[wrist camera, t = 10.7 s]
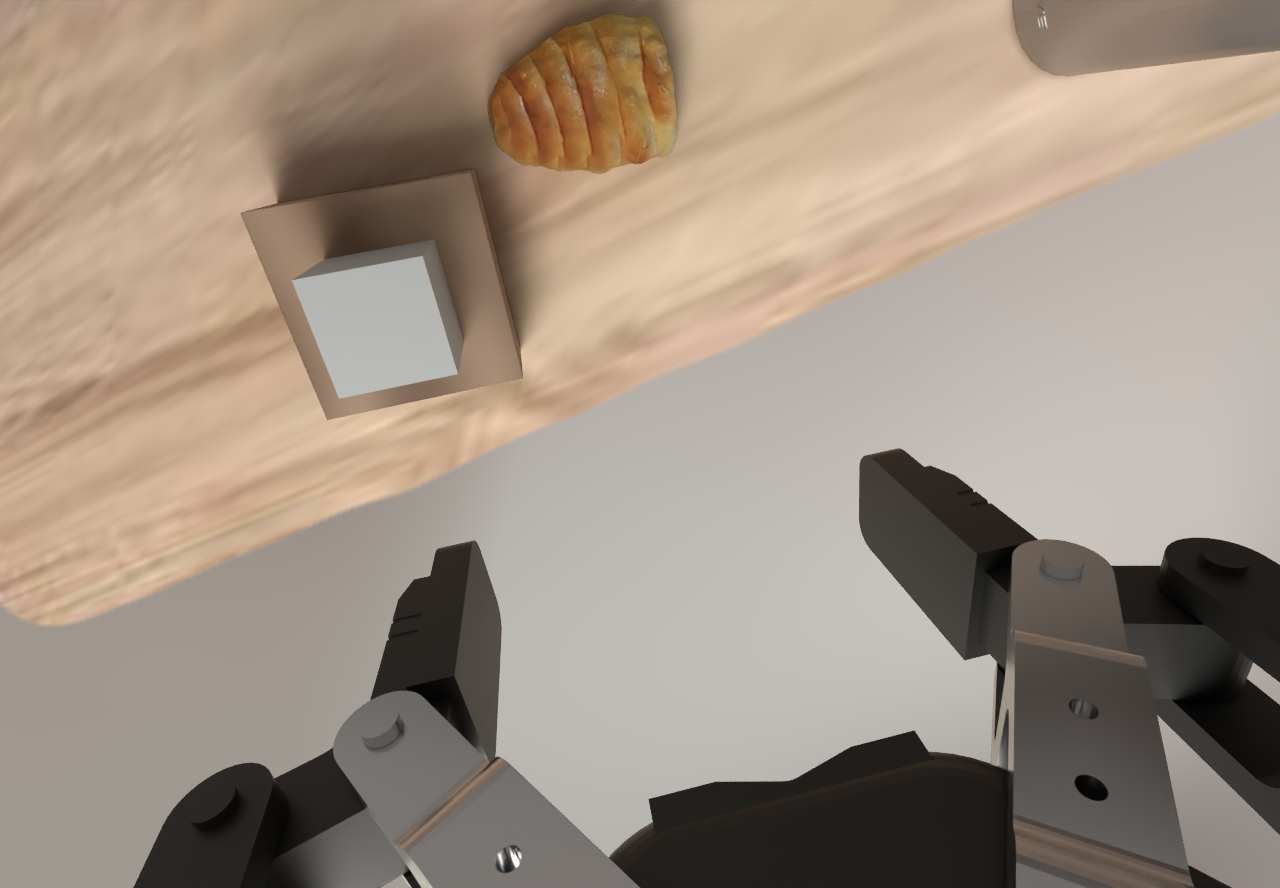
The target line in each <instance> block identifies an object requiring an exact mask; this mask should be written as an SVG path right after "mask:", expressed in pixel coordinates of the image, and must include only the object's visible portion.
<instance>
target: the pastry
mask: <svg viewBox="0 0 1280 888" xmlns="http://www.w3.org/2000/svg"><path fill="white" fill-rule="evenodd" d="M488 114H489V120H490V123H491V126H492V129H493V133H494V138H495V141H496V143H497V145H498V146H499V147H500V149H501V150H502V151H504V152H505V153H507V154H508V155H509V156H511V157H512V158H514V159H515V160H516V161H517V162H518V163H520V164H521V165H525V166H536V167H537V166H542V167H546V168H549V169H554V170H557V171H574V170H587V171H590V172H592V173H596V174H603V173H605V172H607V171H608V170H610V169H612V168H614V167H619V166H624V165H627V164H630V163H633V164H641V163H644V162H646V161H648V160H649V159H651V158H653V157H656V156H657V157H665V156H667V155H669V154H670V153H671V152H672V150H673V148H674V146H675V142H676V136H677V126H676V120H677V109H676V94H675V87H674V75H673V70H672V67H671V64H670V62H669V60H668V57H667V48H666V45H665V42H664V40H663V37H662V35H661V32H660V30H659V29H658V28H657V26H656V24H655V23H654V21H653V20H652V19H651V18H649V17H646V16H641V17H627V16H624V15H621V14H605V15H601V16H599V17H597V18H595V19H593V20H591V21H588V22H583V23H581V24H578V25H573V26H568V27H565V28H563V29H562V30H561V31H560V32H559V33H557V34H556V35H553V36H551V37H550V38H548V39H546V40H545V41H544V42H543V43H542V44H541V45H540V46H539V47H537V48H535V49H533V50H532V51H530V52H529V53H528V54H527V55H526V56H525V57H523V58H521V59H520V60H519V61H518V62H517V63H516V64H514V65H513V66H511V67H510V68H509V69H508V70H506V71H504V72H503V73H501V75H500V77H499V79H498V82H497V84H496V86H495V88H494V91H493V94H492V96H491V97H490V99H489V101H488Z"/></svg>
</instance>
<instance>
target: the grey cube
mask: <svg viewBox="0 0 1280 888" xmlns="http://www.w3.org/2000/svg"><path fill="white" fill-rule="evenodd" d="M292 282H293V285H294V287H295V290H296V292H297V295H298V297H299V300H300V302H301V305H302V307H303V310H304V312H305V315H306V317H307V320H308V322H309V325H310V327H311V330H312V332H313V335H314V337H315V340H316V342H317V345H318V347H319V350H320V352H321V355H322V357H323V360H324V362H325V365H326V367H327V370H328V372H329V375H330V377H331V380H332V382H333V385H334V387H335V390H336V392H337V395H338V397H339V399H340V398H345V397H350V396H355V395H360V394H365V393H369V392H374V391H379V390H384V389H389V388H393V387H398V386H403V385H408V384H413V383H418V382H422V381H427V380H432V379H437V378H442V377H447V376H451V375H456V374H458V372H459V366H460V361H461V356H462V350H463V345H464V340H463V336H462V333H461V329H460V326H459V322H458V319H457V315H456V312H455V309H454V305H453V302H452V298H451V295H450V291H449V288H448V284H447V281H446V277H445V274H444V270H443V267H442V263H441V260H440V257H439V253H438V250H437V246H436V243H435V239H433V240H428V241H422V242H417V243H411V244H406V245H400V246H395V247H389V248H384V249H378V250H373V251H367V252H362V253H356V254H351V255H345V256H340V257H335V258H329V259H324V260H322V261H321V262H319V263H318V264H316V265H315V266H313V267H312V268H310V269H308V270H307V271H305V272H304V273H302V274H301V275H299V276H297V277H296V278H294V279H293V280H292Z"/></svg>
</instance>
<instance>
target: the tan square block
mask: <svg viewBox="0 0 1280 888" xmlns="http://www.w3.org/2000/svg"><path fill="white" fill-rule="evenodd" d="M240 214H241V216H242V218H243V221H244V223H245V226H246V228H247V230H248V233H249V235H250V237H251V240H252V242H253V245H254V247H255V249H256V252H257V254H258V256H259V259H260V261H261V264H262V266H263V268H264V271H265V273H266V275H267V278H268V280H269V283H270V285H271V287H272V290H273V292H274V294H275V297H276V299H277V302H278V304H279V306H280V309H281V311H282V313H283V316H284V318H285V321H286V323H287V325H288V328H289V330H290V332H291V335H292V337H293V340H294V342H295V344H296V347H297V349H298V351H299V354H300V356H301V359H302V361H303V363H304V366H305V368H306V370H307V373H308V375H309V378H310V380H311V382H312V385H313V387H314V389H315V392H316V394H317V397H318V399H319V401H320V404H321V406H322V408H323V411H324V413H325V416H326V418H327V420H330V419H334V418H339V417H344V416H348V415H353V414H358V413H362V412H367V411H372V410H376V409H381V408H386V407H390V406H395V405H400V404H404V403H409V402H414V401H419V400H423V399H428V398H433V397H437V396H442V395H447V394H451V393H456V392H461V391H465V390H470V389H475V388H479V387H484V386H489V385H493V384H498V383H503V382H507V381H512V380H517V379H522V378H523V372H522V362H521V351H520V347H519V343H518V339H517V335H516V331H515V327H514V323H513V319H512V315H511V311H510V307H509V303H508V299H507V295H506V291H505V287H504V283H503V279H502V275H501V271H500V267H499V263H498V259H497V255H496V251H495V247H494V243H493V239H492V235H491V231H490V227H489V223H488V219H487V215H486V211H485V207H484V203H483V199H482V195H481V191H480V187H479V184H478V180H477V176H476V172H475V169H472V170H466V171H460V172H454V173H449V174H443V175H437V176H432V177H426V178H420V179H414V180H409V181H403V182H397V183H392V184H386V185H380V186H374V187H369V188H363V189H357V190H352V191H346V192H340V193H335V194H329V195H323V196H317V197H312V198H306V199H300V200H295V201H289V202H283V203H277V204H273V205H269V206H266V207H262V208H258V209H254V210H250V211H246V212H242V213H240ZM433 239H435V243H436V246H437V250H438V253H439V257H440V260H441V263H442V267H443V270H444V274H445V277H446V281H447V284H448V288H449V291H450V295H451V298H452V302H453V305H454V309H455V312H456V315H457V319H458V322H459V326H460V329H461V333H462V336H463V340H464V345H463V350H462V356H461V361H460V366H459V372H458V374H456V375H451V376H447V377H442V378H437V379H432V380H427V381H422V382H418V383H413V384H408V385H403V386H398V387H393V388H389V389H384V390H379V391H374V392H369V393H365V394H360V395H355V396H350V397H345V398H340V399H339V397H338V395H337V392H336V390H335V387H334V385H333V382H332V380H331V377H330V375H329V372H328V370H327V367H326V365H325V362H324V360H323V357H322V355H321V352H320V350H319V347H318V345H317V342H316V340H315V337H314V335H313V332H312V330H311V327H310V325H309V322H308V320H307V317H306V315H305V312H304V310H303V307H302V305H301V302H300V300H299V297H298V295H297V292H296V290H295V287H294V285H293V282H292V280H293V279H294V278H296V277H297V276H299V275H301V274H302V273H304V272H305V271H307V270H308V269H310V268H312V267H313V266H315V265H316V264H318V263H319V262H321V261H322V260H324V259H329V258H335V257H340V256H345V255H351V254H356V253H362V252H367V251H373V250H378V249H384V248H389V247H395V246H400V245H406V244H411V243H417V242H422V241H428V240H433Z"/></svg>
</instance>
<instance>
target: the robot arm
mask: <svg viewBox="0 0 1280 888" xmlns="http://www.w3.org/2000/svg"><path fill="white" fill-rule="evenodd" d="M1013 14H1014V20H1015V27H1016V32H1017V35H1018V38H1019V40H1020V43H1021V46H1022V48H1023V49H1024V51H1025V52H1026V54H1027V55H1028V57H1029V58H1030V60H1031V61H1032V62H1033V63H1035V64H1036V65H1037V66H1038V67H1039V68H1041V69H1042V70H1044V71H1046V72H1049V73H1051V74H1054V75H1062V76H1074V75H1082V74H1090V73H1098V72H1106V71H1115V70H1123V69H1134V68H1142V67H1150V66H1158V65H1167V64H1175V63H1183V62H1191V61H1199V60H1207V59H1216V58H1224V57H1232V56H1240V55H1248V54H1256V53H1265V52H1273V51H1280V0H1014V1H1013ZM859 478H860V480H859V482H860V483H859V522H860V528H861V531H862V535H863V537H864V540H865V542H866V544H867V545H868V547H869V548H870V549H871V551H872V552H873V553H874V554H875V555H876V556H877V558H878V559H879V560H880V561H881V562H882V563H883V565H884V566H885V567H886V568H887V569H888V571H889V572H890V573H891V574H892V575H893V576H894V578H895V579H896V580H897V581H898V582H899V584H901V586H902V587H903V588H904V589H905V591H906V592H907V593H908V594H909V595H910V596H911V598H912V599H913V600H914V601H915V602H916V604H917V605H918V606H919V607H920V608H921V609H922V611H923V612H924V613H925V614H926V615H927V617H928V618H929V619H930V620H931V621H932V622H933V624H934V625H935V626H936V627H937V628H938V629H939V631H940V632H941V633H942V634H943V635H944V637H945V638H946V639H947V640H948V641H949V642H950V644H951V645H952V646H953V647H954V648H955V649H956V651H957V652H958V653H959V654H960V655H961V657H962V658H963V659H964V660H968V659H971V658H976V657H980V656H983V655H987V654H990V655H991V656H992V657H993V658H994V659H995V660H996V661H997V663H996V669H995V676H994V699H993V721H992V744H991V763H986V762H983V761H980V760H977V759H973V758H970V757H965V756H960V755H955V754H948V753H939V752H928V750H927V749H926V748H925V746H924V745H923V743H922V742H921V740H920V739H919V737H918V735H917V734H916V732H915V731H911V732H907V733H903V734H899V735H896V736H892V737H888V738H884V739H880V740H876V741H872V742H868V743H864V744H861V745H857V746H853V747H850V748H848V749H847V750H845V751H843V752H841V753H840V754H838V755H836V756H834V757H833V758H831V759H829V760H827V761H826V762H824V763H822V764H821V765H819V766H817V767H815V768H813V769H812V770H810V771H808V772H807V773H805V774H803V775H801V776H800V777H798V778H796V779H794V780H791V781H784V782H783V781H782V782H714V783H709V784H705V785H702V786H698V787H694V788H690V789H686V790H682V791H678V792H675V793H671V794H667V795H663V796H659V797H656V798H651V799H649V803H650V809H651V814H652V820H653V822H652V823H651V824H649V825H647V826H646V827H644V828H642V829H641V830H639V831H638V832H636V833H635V834H634V835H632V836H631V837H630V838H628V839H627V840H626V841H625V842H624V843H623V844H622V845H621V846H620V847H618V848H617V849H616V850H615V851H614V852H613V853H612V854H611V855H610V857H609V858H608V857H607V856H606V855H605V854H604V853H603V852H602V851H601V850H600V849H599V848H598V847H597V846H596V845H594V844H593V843H592V842H591V841H590V840H589V839H588V838H587V837H586V836H585V835H584V834H583V833H582V832H581V831H580V830H579V829H577V827H576V826H575V825H573V824H572V823H571V822H570V821H569V820H568V819H567V818H566V817H565V816H564V815H563V814H562V813H561V812H560V811H559V810H557V808H556V807H555V806H553V805H552V804H551V803H550V802H549V801H548V800H547V799H546V798H545V797H544V796H543V795H542V794H541V793H540V792H539V791H538V790H537V789H536V788H535V787H534V786H532V785H531V784H530V783H529V782H528V781H527V780H526V779H525V778H524V777H523V776H522V775H521V774H520V773H519V772H518V771H517V770H516V769H515V768H513V767H512V766H511V765H510V764H509V763H508V762H507V761H505V760H504V759H502V758H501V757H496V758H495V752H496V733H497V713H498V693H499V672H500V651H501V618H500V612H499V607H498V603H497V599H496V596H495V593H494V590H493V587H492V584H491V581H490V578H489V575H488V572H487V569H486V566H485V563H484V560H483V557H482V554H481V551H480V548H479V546H478V544H477V542H476V541H470V542H466V543H461V544H456V545H452V546H447V547H443V548H438V549H437V550H436V553H435V557H434V562H433V566H432V571H431V575H430V576H429V577H424V578H419V579H415V580H413V582H412V583H411V584H410V586H409V587H408V588H407V589H406V591H405V592H404V593H403V594H402V596H401V597H400V598H399V600H398V603H397V607H396V610H395V614H394V617H393V624H391V628H390V632H389V635H388V637H389V640H388V641H387V643H386V646H385V650H384V653H383V657H382V660H381V664H380V668H379V671H378V675H377V678H376V682H375V686H374V689H373V693H372V696H371V700H370V701H369V702H367V703H366V704H364V705H362V706H361V707H360V708H359V709H358V710H356V711H355V712H354V713H353V714H352V715H351V716H350V717H349V718H348V719H347V720H346V721H345V723H344V724H343V725H342V727H341V728H340V730H339V732H338V734H337V736H336V738H335V741H334V745H333V748H332V749H330V750H329V751H327V752H326V753H324V754H322V755H320V756H318V757H317V758H314V759H313V760H310V761H308V762H307V763H304V764H303V765H301V766H299V767H297V768H295V769H293V770H291V771H289V772H287V773H285V774H283V775H281V776H279V777H277V778H275V779H274V777H273V776H272V774H271V773H270V771H269V770H268V769H267V768H266V767H265V766H263V765H260V764H257V763H243V764H239V765H234V766H232V767H229V768H226V769H224V770H222V771H220V772H218V773H216V774H214V775H212V776H210V777H209V778H207V779H206V780H204V781H203V782H201V783H200V784H199V785H197V786H196V787H195V788H194V789H192V790H191V791H190V792H189V793H188V794H187V795H186V796H185V797H184V798H183V799H182V800H181V801H180V802H179V803H178V804H177V805H176V807H175V808H174V809H173V810H172V812H171V813H170V814H169V816H168V817H167V819H166V821H165V823H164V825H163V826H162V829H161V831H160V833H159V835H158V837H157V839H156V841H155V843H154V845H153V848H152V850H151V852H150V854H149V856H148V858H147V860H146V862H145V865H144V867H143V869H142V871H141V873H140V875H139V877H138V879H137V881H136V884H135V886H134V888H381V887H382V886H384V885H386V884H387V883H389V882H391V881H392V880H394V879H396V878H397V877H399V876H401V877H402V878H403V879H404V881H405V882H406V884H407V885H408V887H409V888H1231V887H1229V886H1227V885H1225V884H1224V883H1222V882H1220V881H1218V880H1216V879H1214V878H1212V877H1210V876H1208V875H1206V874H1204V873H1202V872H1201V871H1199V870H1197V869H1195V868H1193V867H1191V866H1189V865H1188V863H1187V858H1186V853H1185V848H1184V843H1183V839H1182V834H1181V829H1180V824H1179V819H1178V814H1177V809H1176V805H1175V800H1174V795H1173V791H1172V785H1171V780H1170V776H1169V771H1168V766H1167V761H1166V756H1165V752H1164V746H1163V742H1162V737H1161V732H1160V727H1159V722H1158V717H1157V715H1158V716H1159V717H1160V718H1161V719H1162V720H1163V721H1164V722H1165V723H1166V724H1167V725H1168V726H1169V727H1170V728H1171V729H1172V730H1174V731H1175V732H1176V733H1177V734H1178V735H1179V736H1180V737H1181V738H1182V739H1183V740H1184V741H1185V742H1186V743H1187V744H1188V745H1189V746H1190V747H1191V748H1192V749H1193V750H1194V751H1195V752H1196V753H1197V754H1198V755H1199V756H1200V757H1201V758H1202V759H1203V760H1204V761H1205V762H1206V763H1207V764H1208V765H1209V766H1210V767H1211V768H1212V769H1213V770H1214V771H1215V772H1216V773H1217V774H1218V775H1219V776H1220V777H1221V778H1222V779H1223V780H1224V781H1226V783H1227V784H1229V785H1230V787H1232V788H1233V789H1234V790H1235V791H1236V792H1237V793H1238V794H1239V795H1240V796H1241V797H1242V798H1243V799H1244V800H1245V801H1246V802H1247V803H1248V804H1249V805H1250V806H1251V807H1252V808H1253V809H1254V810H1255V811H1256V812H1257V813H1258V814H1259V815H1260V816H1261V817H1262V818H1263V819H1264V820H1265V821H1266V822H1267V823H1268V824H1269V825H1270V826H1271V827H1272V828H1273V829H1274V830H1275V831H1276V832H1277V833H1279V835H1280V705H1279V704H1278V703H1277V702H1275V701H1274V700H1273V699H1272V698H1270V697H1269V696H1268V695H1267V694H1265V693H1264V692H1263V691H1262V690H1260V689H1259V688H1258V687H1257V686H1255V685H1254V684H1253V683H1251V682H1250V681H1249V680H1248V679H1247V676H1248V674H1249V672H1250V669H1251V667H1252V664H1253V662H1254V663H1255V664H1257V665H1258V666H1260V668H1262V669H1263V670H1264V671H1266V672H1267V673H1268V674H1270V675H1271V676H1272V677H1273V678H1275V679H1276V680H1277V681H1279V682H1280V565H1279V564H1277V563H1276V562H1274V561H1272V560H1271V559H1269V558H1267V557H1266V556H1264V555H1262V554H1260V553H1258V552H1256V551H1254V550H1252V549H1249V548H1247V547H1244V546H1241V545H1238V544H1235V543H1231V542H1227V541H1223V540H1217V539H1210V538H1187V539H1181V540H1177V541H1175V542H1173V543H1171V544H1170V545H1168V546H1167V548H1166V550H1165V553H1164V557H1163V560H1162V563H1161V566H1111V565H1110V564H1109V563H1108V562H1107V561H1106V560H1105V559H1104V558H1103V557H1101V556H1100V555H1099V554H1097V553H1095V552H1094V551H1092V550H1090V549H1088V548H1085V547H1083V546H1080V545H1077V544H1074V543H1070V542H1066V541H1060V540H1047V539H1045V540H1044V539H1043V540H1038V539H1036V538H1035V537H1034V536H1033V535H1031V534H1030V533H1029V532H1027V531H1026V530H1025V529H1024V528H1022V527H1021V526H1020V525H1018V524H1017V523H1016V522H1014V521H1013V520H1012V519H1011V518H1009V517H1008V516H1007V515H1005V514H1004V513H1003V512H1001V511H1000V510H999V509H998V508H996V507H995V506H994V505H993V504H988V502H987V500H986V499H985V498H983V497H982V496H981V495H980V494H978V493H977V492H973V489H972V488H970V487H969V486H968V485H967V484H965V483H964V482H963V481H962V480H960V479H959V478H958V477H956V476H955V475H952V474H950V473H947V472H945V471H942V470H940V469H937V468H935V467H932V466H927V467H924V466H922V465H921V464H920V463H919V462H917V461H916V460H915V459H914V458H913V457H911V456H910V455H909V454H908V453H906V452H905V451H904V450H902V449H894V450H889V451H885V452H880V453H876V454H871V455H867V456H864V457H863V458H862V459H861V462H860V477H859Z"/></svg>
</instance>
